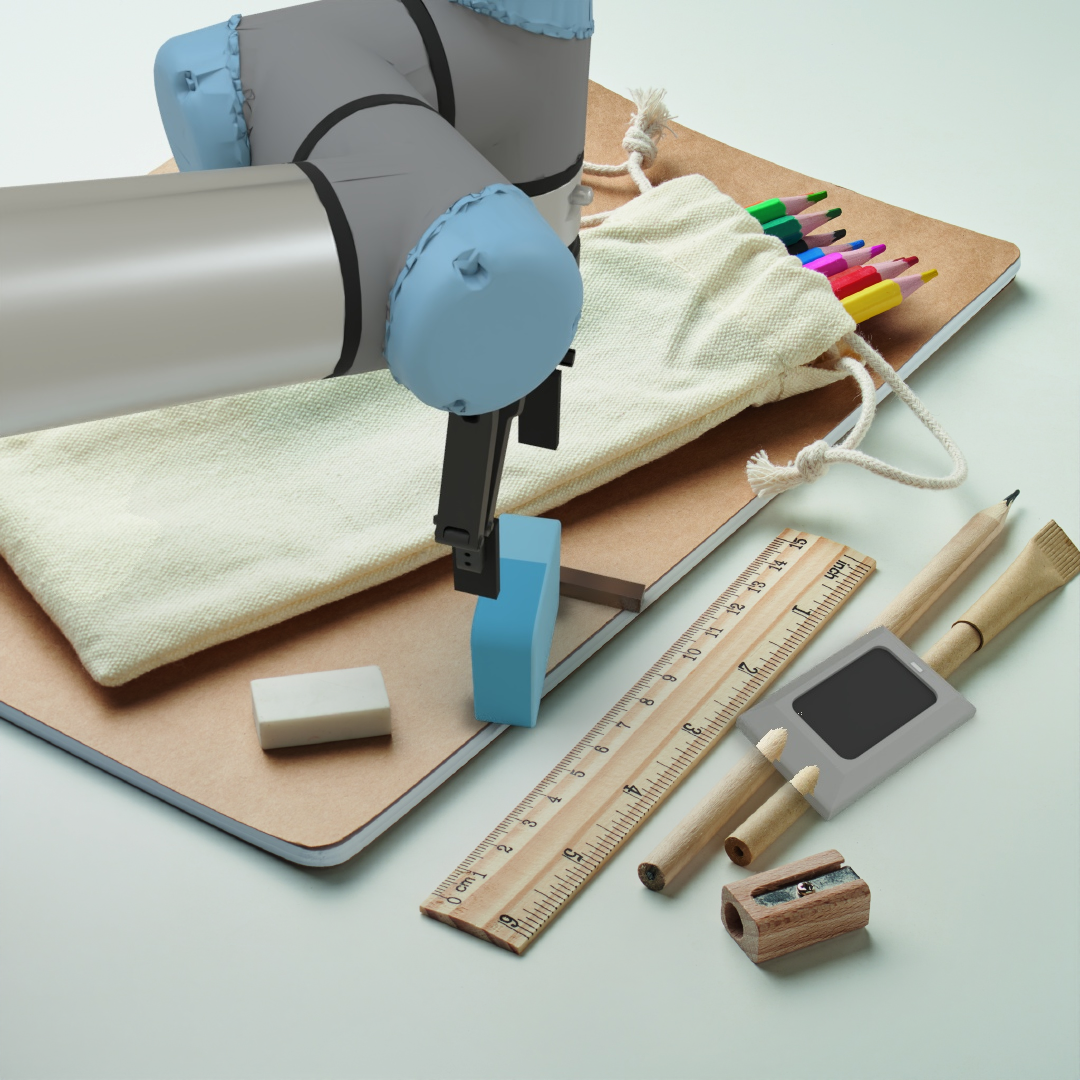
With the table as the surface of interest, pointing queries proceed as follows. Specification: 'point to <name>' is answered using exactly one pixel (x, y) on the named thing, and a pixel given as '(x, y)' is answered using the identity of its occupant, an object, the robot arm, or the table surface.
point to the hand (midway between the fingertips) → (509, 513)
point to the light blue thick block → (517, 623)
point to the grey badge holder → (858, 718)
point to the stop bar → (601, 589)
